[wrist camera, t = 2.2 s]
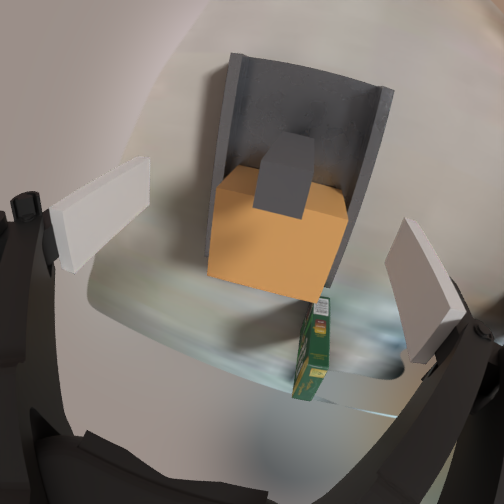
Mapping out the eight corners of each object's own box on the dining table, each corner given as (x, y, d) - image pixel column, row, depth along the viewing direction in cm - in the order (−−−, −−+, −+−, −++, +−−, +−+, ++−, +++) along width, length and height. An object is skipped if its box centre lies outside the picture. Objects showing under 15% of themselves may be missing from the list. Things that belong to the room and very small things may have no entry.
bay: (240, 56, 27) (230, 52, 23) (385, 90, 25) (394, 90, 22) (214, 240, 40) (204, 256, 36) (329, 269, 38) (329, 288, 35)
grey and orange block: (245, 118, 29) (186, 146, 16) (355, 144, 28) (388, 194, 15) (227, 239, 38) (179, 326, 25) (318, 262, 37) (313, 362, 24)
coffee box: (312, 291, 41) (306, 365, 30) (331, 295, 41) (330, 370, 30) (299, 329, 45) (289, 399, 34) (316, 333, 45) (310, 403, 34)
